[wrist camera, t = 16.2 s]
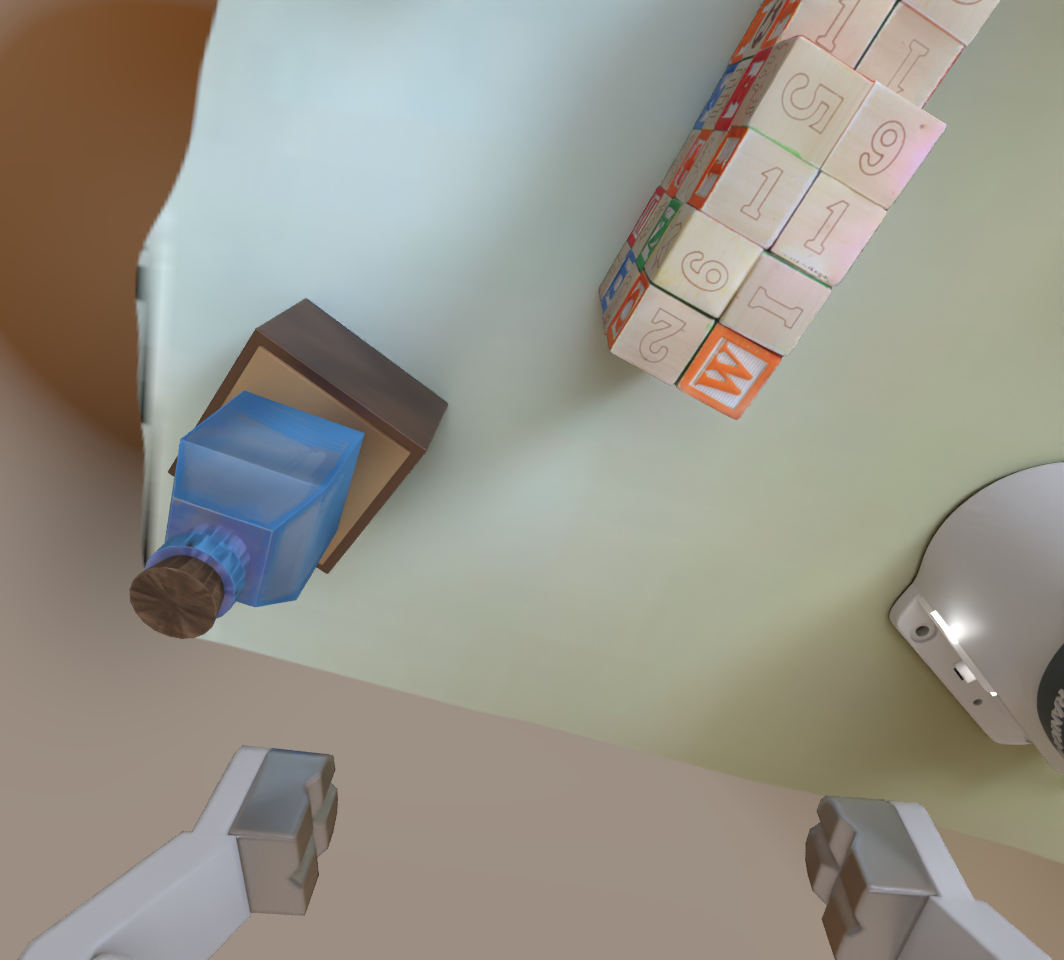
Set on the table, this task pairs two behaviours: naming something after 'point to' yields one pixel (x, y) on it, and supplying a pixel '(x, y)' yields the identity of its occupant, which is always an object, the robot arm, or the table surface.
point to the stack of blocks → (780, 188)
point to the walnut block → (339, 404)
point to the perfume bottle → (246, 513)
